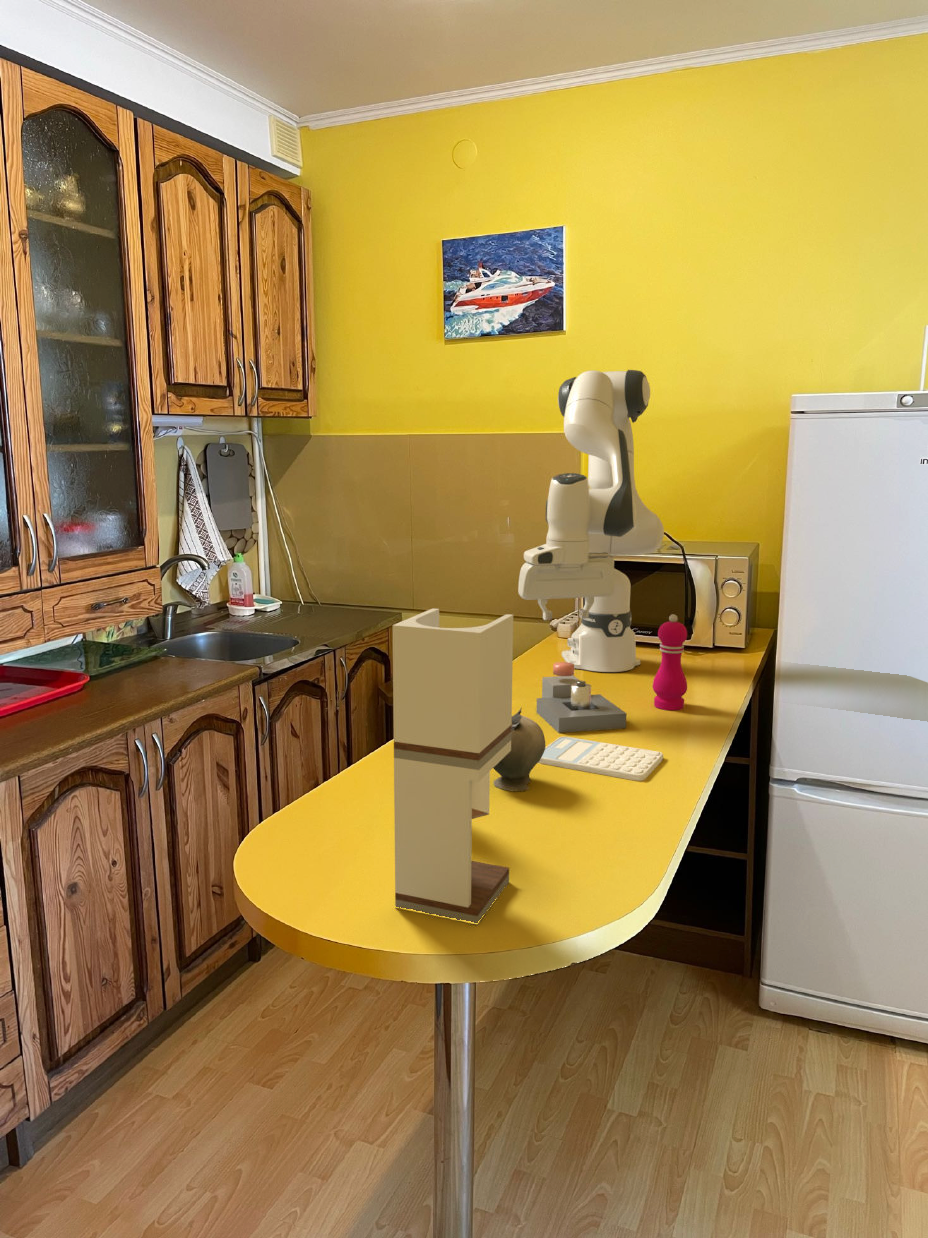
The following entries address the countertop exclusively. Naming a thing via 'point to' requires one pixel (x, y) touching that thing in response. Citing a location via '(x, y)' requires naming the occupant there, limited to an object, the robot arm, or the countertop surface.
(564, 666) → the plunger
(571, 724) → the grey stepped block frame
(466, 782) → the beige stacked box tower
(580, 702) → the cell
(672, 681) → the pepper mill
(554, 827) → the countertop surface
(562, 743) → the calculator
